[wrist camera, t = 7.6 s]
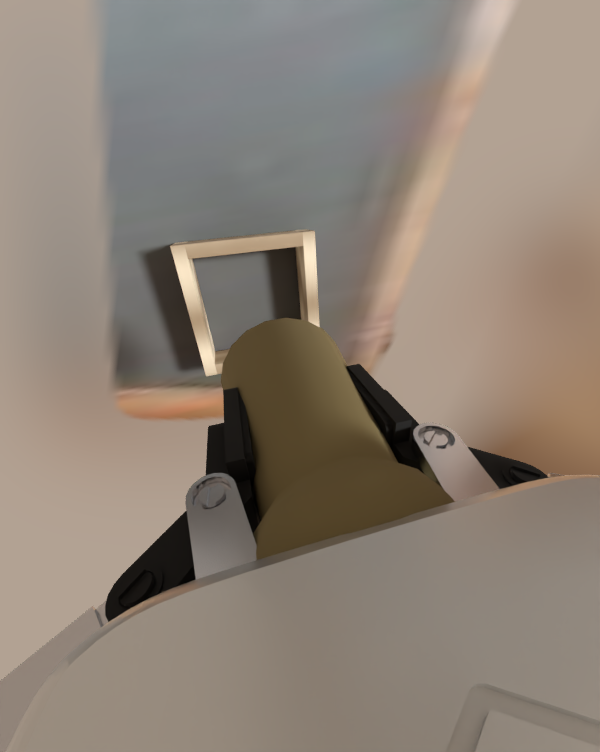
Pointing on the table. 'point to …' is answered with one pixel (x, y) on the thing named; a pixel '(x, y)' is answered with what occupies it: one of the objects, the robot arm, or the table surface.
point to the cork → (315, 441)
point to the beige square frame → (234, 245)
